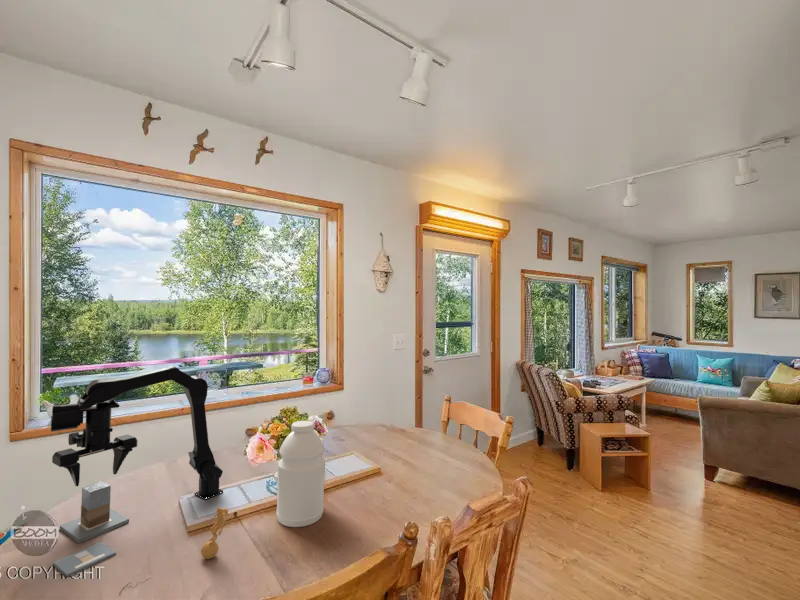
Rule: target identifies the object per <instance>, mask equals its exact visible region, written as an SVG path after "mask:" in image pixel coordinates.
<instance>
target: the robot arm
mask: <svg viewBox="0 0 800 600" xmlns="http://www.w3.org/2000/svg"><path fill="white" fill-rule="evenodd" d="M169 381H173V382H175V383H177V384H178V385H180V386H182V387H183V390H184V393H185V397H186V399H187V401H188V404H189V406H190V407H189V408H190V409H189V410H190V415H191V426H192V427H191V428H192V436H193V450H192V451H189V452H187V453H188V458H189V461H188V464H189V466H191V467H192V468H193V470H194V471H196V473H197V474H198V475H199V478H198V491H196V492H194V495H195V494H197V495H199V496H201V497H203V498H206V497H207V498H208V497H211V496H213V495H215V496H217V495H216V494H218V493H220V492H222V493H224V490H223V489H222V488H221V489H220V479H221V477H222V475H223V469H222V468H220V467H219V466H218V464H216V461H215V460H216V459H215V457H214V454H213V451H212V449H211V447H210V444H209V442H210V441H209V434H208V424H207V423H208V422H207V415H206V399H207V397H208V387H209V386H208V382H207V381H206V380H205V379H204V378H202V377H200V376H199V375H189V374H187V373H185V372H183V371H181V370H180V369H179V368H178V367H176V366H174V365H169V366H166V367H163V368H159V369H155V370H154V369H153V370H151V371H146V372H141V373H138V374H134V375H129V376H123V377H108V378H97V379H95V380H92V381H90V382H89V383H88V385H87V387H86V388H85V393H84V394H83V395H82V396H81V397H80V398H79V399H78V400H77V402H76V403H70V404H54V405H53V406H52V411H51V413H52V414H51V417H50V432H51V433H53V432H59V431H60V432H61V431H65V430H72V429H79V428H78V427H79V426H81V425H82V424H84V412H85V427H84V428H83V430H82V433H80V432H78V431H76V432H72V433H69V434H68V440H67V441H68V446H74V445H76V447H77V448H83V449H79V450H75V449H73V448H67V449H62V450H58V451H55V452H54V453H53V455H52V457H51V460H52V464H53V465H56V466H58V467H59V468H64V469H67V471H68V473H69V475H70V477H71V480H72V481H73V483H74V486H75V487H79V485H80V475H81V474H80V473H81V464H80V463H79V462H78V461H79V460H80V458H83V457H86V456H91V455H94V454H98V453H102V452H105V451H109V450H112V451H113V462H112V474H113V475H117V473H119V470H120V468H121V466H122V464H123V463H124V461H125V459H126V458H127V456H128V454H129V453H130V452H132V451H133V448H137V447H138V439H137V437H135V436H133V435H129V434H123V435H121V436H115V438H114V439H113V441H111V432H113V427H112V425H111V423H112V422H111V420H112V409H117V408H120V404H119V402H117V401H115V400H114V399H115V398H117V397H119V396H120V395H122V394H124V393H127V392H129V391H134V390H137V389H141V388H145V387H149V386H152V385H156V384H161V383H163V382H164V383H165V382H169ZM220 494H221V493H220ZM218 495H219V494H218ZM199 496H198V497H199ZM201 497H200V498H201ZM213 497H214V496H213ZM203 498H202V499H203ZM211 498H212V497H211Z"/></svg>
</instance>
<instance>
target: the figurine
mask: <svg viewBox="0 0 800 600" xmlns="http://www.w3.org/2000/svg"><path fill="white" fill-rule="evenodd" d="M215 512H216V513H215V515H214V516H213V517H212V519H211V521H212V522H213V521H214V519H215V518H216V519H217V520H216V521H215V523H214V524H213V525H212V527H211V528H210V529H209V530H210V532H211V534H212V537H211V538H210V539H208V540H207V541H206V542H205V543H203V545H202V546H201V550H200V553H201V557H202V558H203V559H206V560H211V559H213V558H214V557H215V556H216V555H217V554H218V553H219V544H218V543H217V541H216V540H217V538H218V536H221V534H222V531H223V528H224V526H225V524H226V521H227V519H226V517H227V516H228V514H229V510H228V509H227V507H225V508H221V507H217V508H216V510H215ZM217 533H218V534H217Z"/></svg>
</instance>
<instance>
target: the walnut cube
mask: <svg viewBox="0 0 800 600" xmlns="http://www.w3.org/2000/svg"><path fill="white" fill-rule="evenodd" d="M110 508H111V502H110V503H109V504H106V505H103V506H100V507H98V508H95V509H92V510H88V509H86V508H85V507H83V506H82V505H81V506H80V518H81V524H83V525H84V526H86V527H87V528H92V527H94V526H97V525H99V524H102V523H104V522H107V521H109V517H110Z"/></svg>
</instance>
